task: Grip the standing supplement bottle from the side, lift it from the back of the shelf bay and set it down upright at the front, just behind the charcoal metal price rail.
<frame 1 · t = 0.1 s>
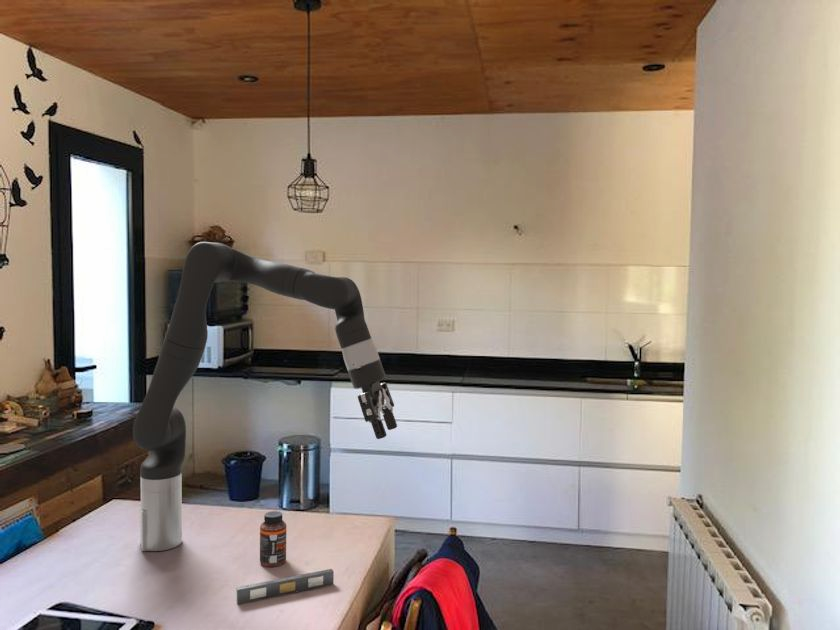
hand: (387, 433, 143), 31 cm above the table, tool tilted 20°, fingers open, 8 cm apart
price rail: (286, 593, 135), on the table
supplement bottle: (273, 563, 149), on the table
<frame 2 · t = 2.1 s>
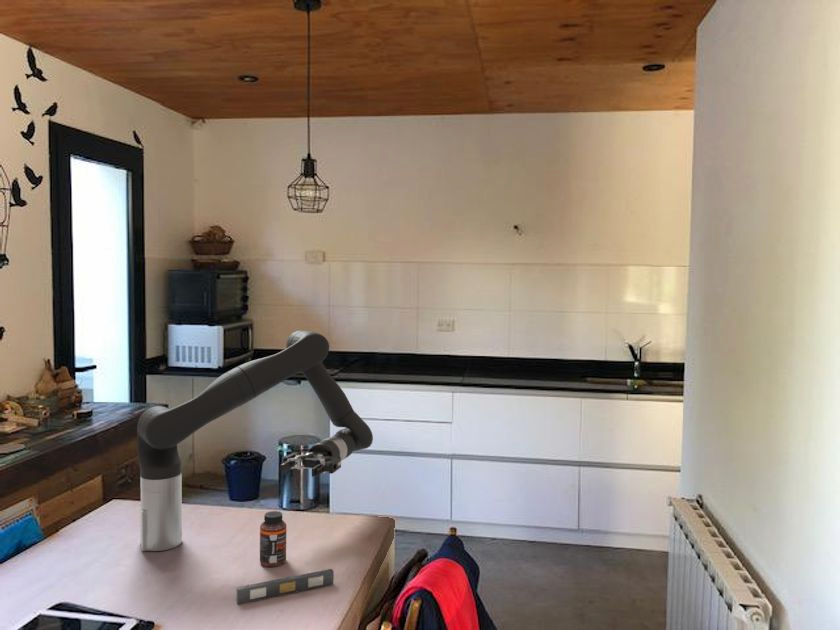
hand: (297, 470, 159), 18 cm above the table, tool horizontal, fingers open, 8 cm apart
nothing on the table moved.
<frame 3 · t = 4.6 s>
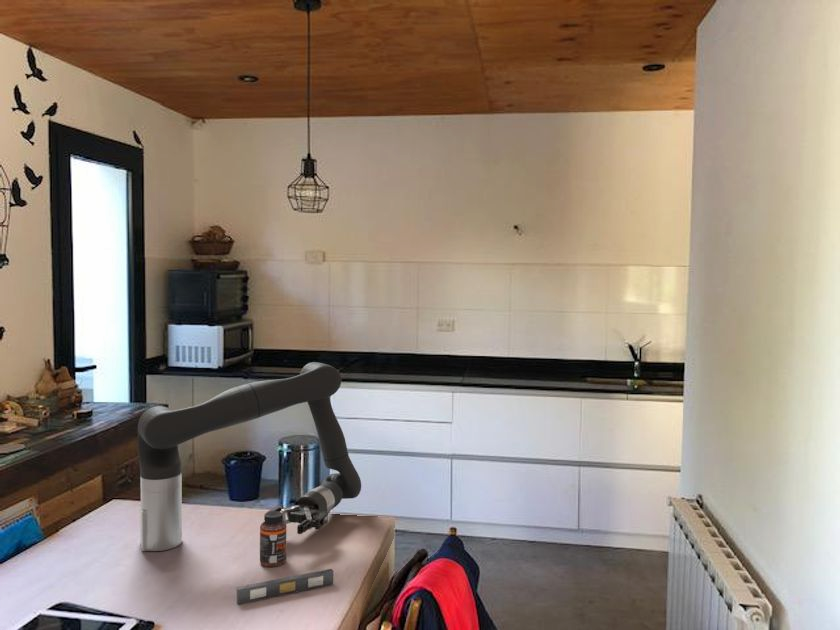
hand: (282, 527, 153), 6 cm above the table, tool horizontal, fingers open, 8 cm apart
nothing on the table moved.
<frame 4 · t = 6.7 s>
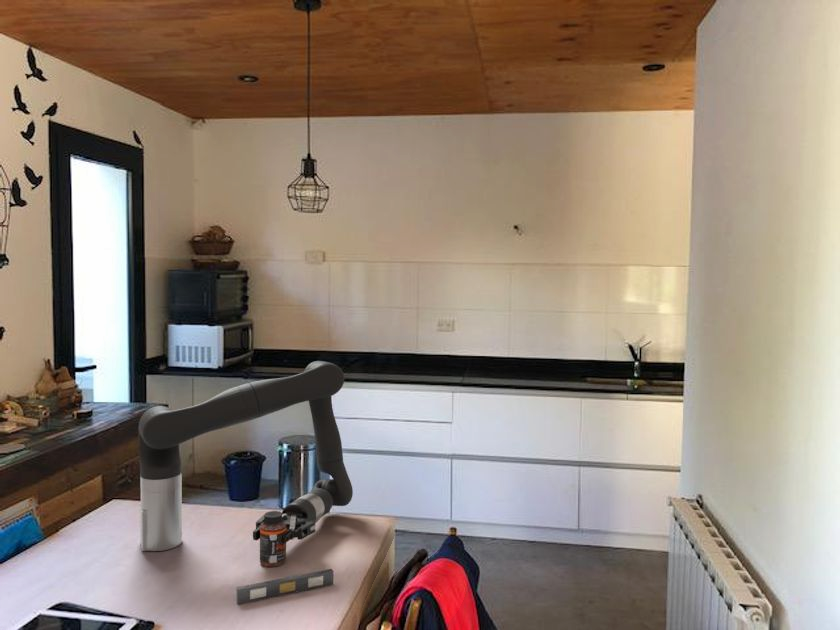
hand: (267, 538, 147), 7 cm above the table, tool horizontal, fingers closed on supplement bottle, 6 cm apart
supplement bottle: (273, 563, 149), on the table, touching gripper
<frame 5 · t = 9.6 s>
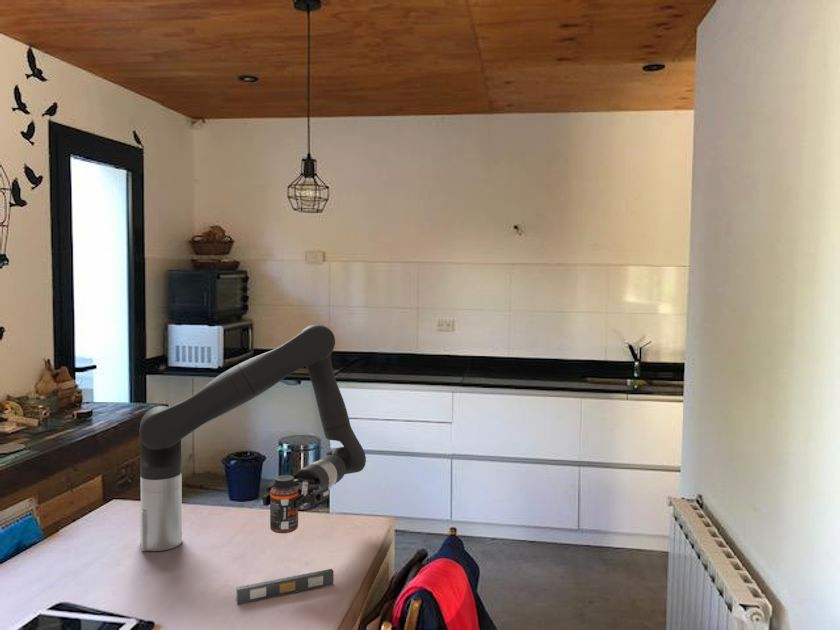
hand: (278, 503, 138), 18 cm above the table, tool horizontal, fingers closed on supplement bottle, 6 cm apart
supplement bottle: (284, 530, 140), point 11 cm above the table, touching gripper
when the fingers open (8 cm above the table, at t = 12.8 s): supplement bottle drops 1 cm, on the table.
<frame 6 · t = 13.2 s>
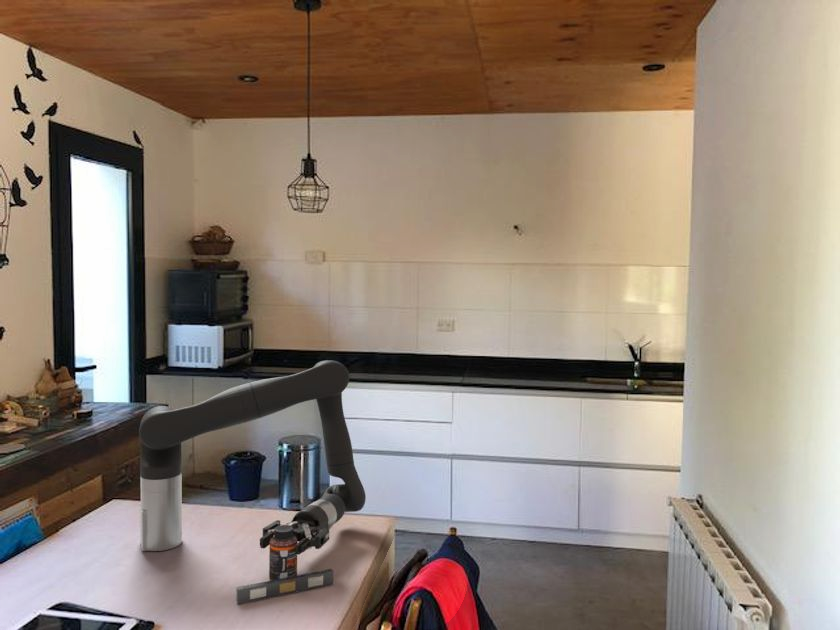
hand: (279, 547, 139), 8 cm above the table, tool horizontal, fingers open, 8 cm apart
supplement bottle: (283, 580, 141), on the table
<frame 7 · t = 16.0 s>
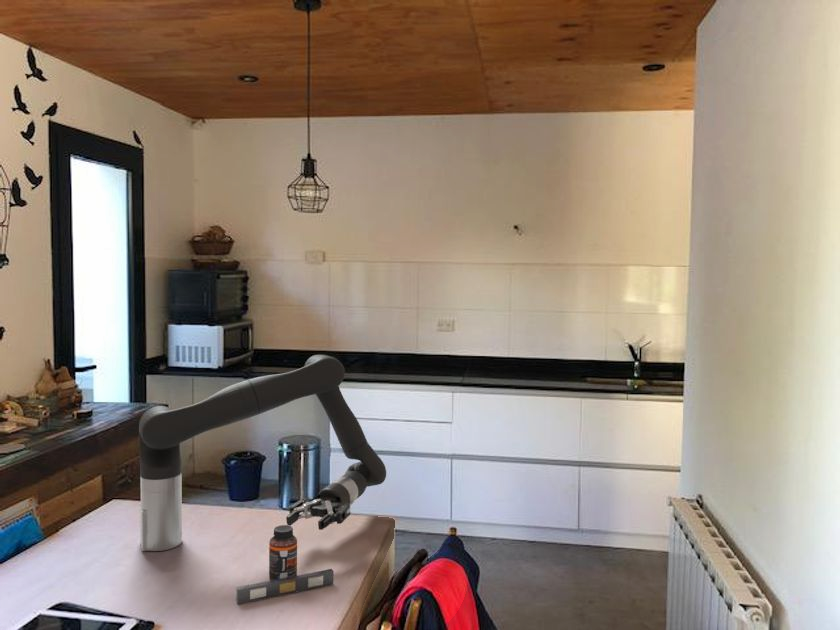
hand: (303, 523, 151), 8 cm above the table, tool horizontal, fingers open, 8 cm apart
nothing on the table moved.
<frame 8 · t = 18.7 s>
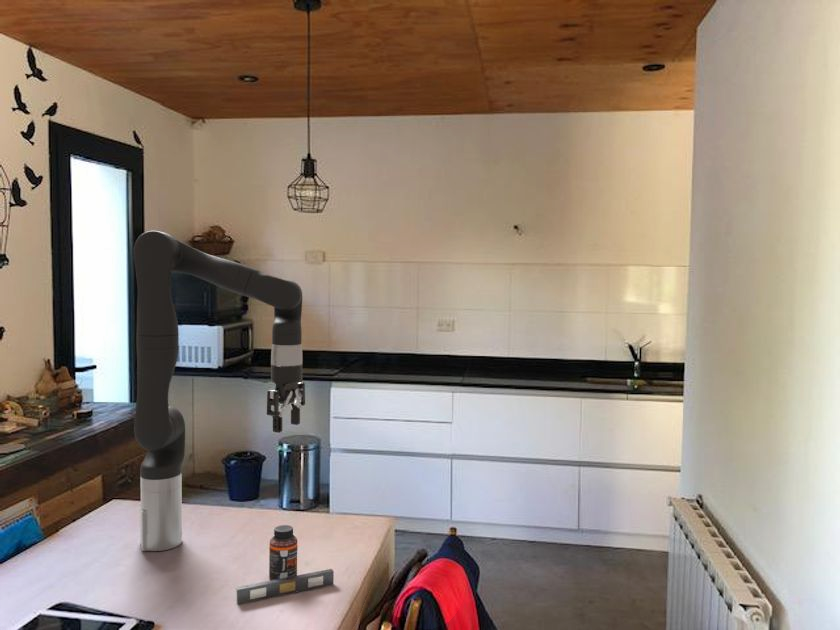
hand: (286, 428, 160), 28 cm above the table, tool pointing down, fingers open, 8 cm apart
nothing on the table moved.
at the end: supplement bottle inside the target area (0.3 cm from its centre), on the table; supplement bottle tilted 0°; the gripper is holding nothing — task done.
